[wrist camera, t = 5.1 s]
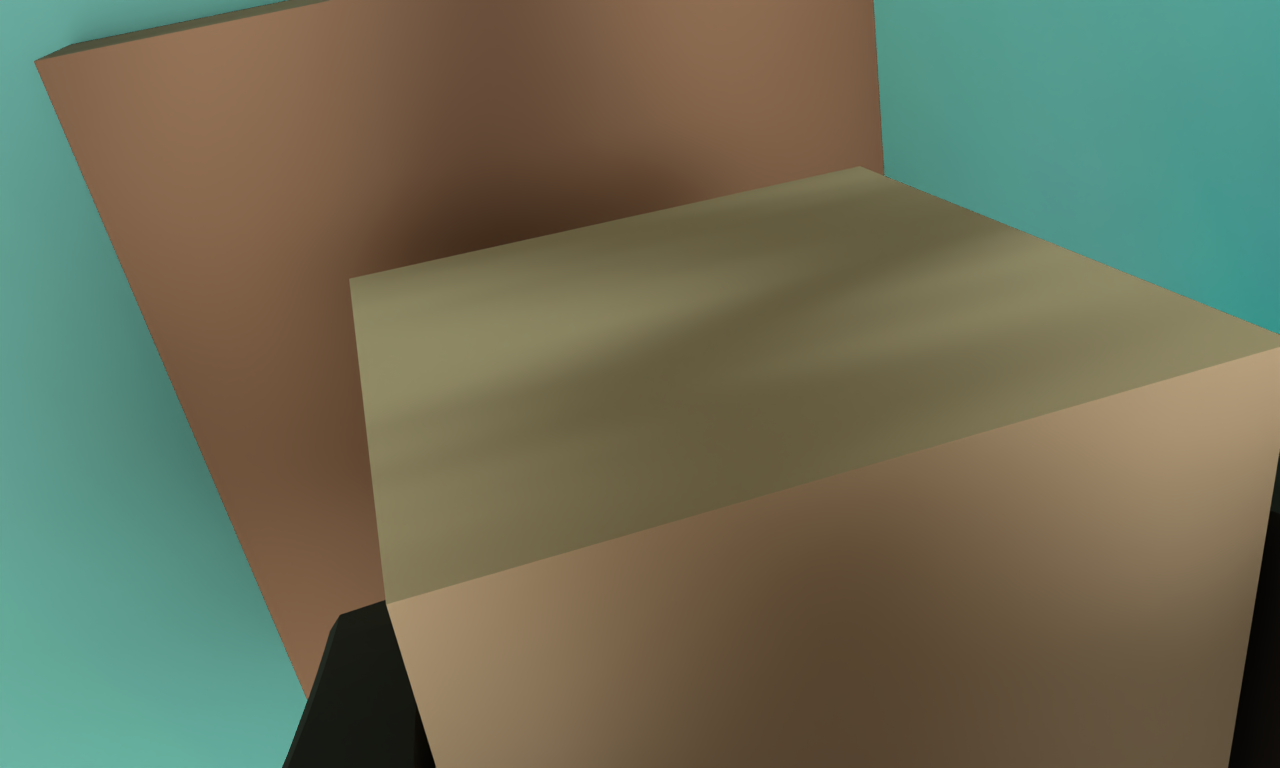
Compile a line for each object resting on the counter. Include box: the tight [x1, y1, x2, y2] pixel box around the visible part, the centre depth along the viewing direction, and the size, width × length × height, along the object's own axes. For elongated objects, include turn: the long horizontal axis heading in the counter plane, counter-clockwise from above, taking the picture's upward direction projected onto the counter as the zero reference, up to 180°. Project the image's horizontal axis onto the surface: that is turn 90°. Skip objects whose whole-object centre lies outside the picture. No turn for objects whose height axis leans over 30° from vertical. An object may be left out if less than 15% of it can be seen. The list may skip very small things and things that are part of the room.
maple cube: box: [349, 166, 1280, 768], centre depth 8 cm, size 5×5×5 cm
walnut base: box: [34, 0, 884, 700], centre depth 15 cm, size 10×10×2 cm
